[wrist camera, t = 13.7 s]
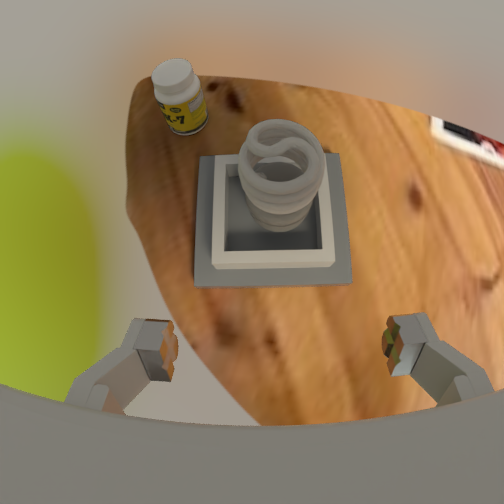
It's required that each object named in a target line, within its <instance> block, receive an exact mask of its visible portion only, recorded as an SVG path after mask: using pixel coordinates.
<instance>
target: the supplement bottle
mask: <svg viewBox="0 0 504 504" xmlns="http://www.w3.org/2000/svg"><path fill="white" fill-rule="evenodd" d="M152 81H153V84H154V87H155V89H154V94H155V97H156V100H157V102H158V104H159V106H160V108H161V111H162V113H163V115H164V117H165V119H166V121H167V123H168V126H169V128H170V129H171V130H172V131H173V132H174V133H176V134H179V135H192V134H194V133H197V132H198V131H200V130H201V129H202V128H203V127H204V126H205V125H206V123H207V121H208V110H207V106H206V103H205V99H204V95H203V91H202V88H201V84H200V80H199V78H198V77H197V75H196V74H194V72H193V69H192V66H191V64H190V63H189V62H188V61H187V60H184V59H180V58H176V59H170V60H167V61H164V62H163V63H161V64H159V65H158V66H157V67H156V68H155V69H154V71H153V73H152Z"/></svg>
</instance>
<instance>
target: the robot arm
mask: <svg viewBox="0 0 504 504" xmlns="http://www.w3.org/2000/svg"><path fill="white" fill-rule="evenodd" d="M386 324H387V326H388V328H387V329H386V330H385V331H384V332H383V336H382V350H383V353H384V355H385V356H386V357H387V358H389V359H388V362H387V366H388V369H389V372H390V375H391V377H392V376H401V375H410V374H411V375H410V376H411V377H412V378H413V379H414V380H415V381H416V382H417V383H418V384H419V385H420V386H421V387H422V388H423V389H424V390H425V391H426V392H427V393H428V394H429V395H430V396H431V397H432V398H433V399H434V400H435V401H436V402H437V403H438V404H437V405H436V407H434V408H430V409H425V410H420V411H415V412H409V413H404V414H398V415H392V416H386V417H379V418H372V419H364V420H356V421H347V422H337V423H325V424H311V425H289V426H232V425H210V424H195V423H183V422H173V421H164V420H155V419H148V418H140V417H134V416H128V415H126V414H125V413H124V411H123V409H124V408H125V407H126V406H127V405H128V404H129V403H130V402H131V401H132V400H133V399H134V398H135V397H136V396H137V395H138V394H139V393H140V392H141V391H142V390H143V389H144V388H145V387H146V386H147V384H149V383H150V381H166V382H171V379H172V376H173V372H174V366H173V362H174V361H175V360H176V359H177V356H178V339H177V336H176V335H175V334H174V333H173V330H174V325H173V322H172V321H171V320H157V319H140V318H134V319H133V320H132V322H131V324H130V326H129V329H128V331H127V333H126V335H125V338H124V340H123V343H122V345H121V347H120V348H116V349H115V350H113V351H112V352H110V353H109V354H108V355H106V356H105V357H104V358H102V359H101V360H100V361H99V362H97V363H96V364H94V365H93V366H91V367H90V368H89V369H87V370H86V371H85V372H83V373H82V374H81V375H79V376H78V377H77V378H75V379H74V381H73V384H72V386H71V388H70V390H69V392H68V395H67V397H66V399H65V402H60V401H56V400H52V399H48V398H45V397H41V396H37V395H34V394H31V393H27V392H24V391H21V390H18V389H15V388H12V387H9V386H6V385H3V384H0V504H504V389H501V390H498V391H494V389H493V387H492V385H491V383H490V381H489V378H488V376H487V374H486V372H485V370H484V369H483V368H481V367H480V366H479V365H477V364H476V363H474V362H473V361H472V360H470V359H469V358H467V357H466V356H465V355H463V354H462V353H460V352H459V351H457V350H456V349H455V348H453V347H452V346H450V345H449V344H447V343H446V342H444V341H440V340H439V338H438V336H437V334H436V332H435V330H434V328H433V326H432V324H431V322H430V320H429V318H428V316H427V314H426V313H424V312H422V313H413V314H403V315H391V316H389V317H388V319H387V323H386Z"/></svg>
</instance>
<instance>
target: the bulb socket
mask: <svg viewBox="0 0 504 504" xmlns="http://www.w3.org/2000/svg"><path fill="white" fill-rule="evenodd" d="M238 156H239V154H232V155H213V156H200V162H199V177H198V194H197V213H196V236H195V267H194V287H196V288H278V287H315V286H344V285H350V284H352V268H351V255H350V242H349V231H348V221H347V211H346V202H345V194H344V185H343V178H342V170H341V163H340V156H339V153H324V157H325V168H324V175H323V180H322V183H321V185H320V188H319V189H318V191H317V193H316V195H315V197H314V200H313V203H312V206H311V209H310V211H309V212H308V214H307V215H306V217H305V218H304V220H303V221H302V223H301V224H299V225H298V226H297V227H296V228H294V229H292V230H289V231H286V232H273V231H270V230H266V229H264V228H263V227H261V226H260V225H259V224H257V223H256V222H255V220H254V219H253V217H252V216H251V214H250V211H249V209H248V207H247V205H246V199H245V191H244V190H243V188H242V185H241V181H240V177H239V173H238ZM272 162H285V163H289V164H293V165H294V166H296V167H298V168H300V166H299V165H298V164H296V163H295V162H294V161H293V160H291V159H289V158H286V157H282V156H276V157H268V158H263V159H262V160H260V161H259V162H257V163H256V164H255V166H254V167H253V170H254V172H255V171H256V170H257V169H258V168H259V167H261V166H263V165H265V164H268V163H272ZM300 169H301V168H300ZM301 170H302V169H301Z"/></svg>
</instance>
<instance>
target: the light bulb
mask: <svg viewBox="0 0 504 504" xmlns="http://www.w3.org/2000/svg"><path fill="white" fill-rule="evenodd" d="M276 156H282V157H286V158H289V159H291V160H293V161H294V162H295V163H296V164H298V165H299V166H300V168H301V169H302V170H301V169H300V168H298V167H296V166H294V165H293V164H289V163H285V162H272V163H268V164H265V165H263V166H261V167H259V168H258V169H257V170H256V171H255V172H254V170H253V167H254V166H255V164H256V163H257V162H259V161H260V160H262V159H263V158H268V157H276ZM324 168H325V157H324V152H323V149H322V147H321V145H320V143H319V141H318V139H317V138H316V137H315V136H314V135H313V133H312V132H310V131H309V130H308V129H307V128H305V127H304V126H302V125H300V124H298V123H296V122H293V121H289V120H283V119H269V120H266V121H262V122H260V123H258V124H256V125H254V126H253V127H252V128H251V129H250V130H249V133H248V135H247V137H246V141H245V142H244V143H243V145H242V147H241V149H240V152H239V156H238V173H239V177H240V181H241V185H242V188H243V190H244V191H245V199H246V205H247V207H248V209H249V211H250V214H251V216H252V217H253V219H254V220H255V222H256V223H257V224H259V225H260V226H261V227H263V228H264V229H266V230H270V231H273V232H286V231H289V230H292V229H294V228H296V227H297V226H298V225H299V224H301V223H302V221H303V220H304V218H305V217H306V215H307V214H308V212H309V211H310V209H311V206H312V203H313V200H314V197H315V195H316V193H317V191H318V189H319V188H320V185H321V183H322V180H323V175H324Z"/></svg>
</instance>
